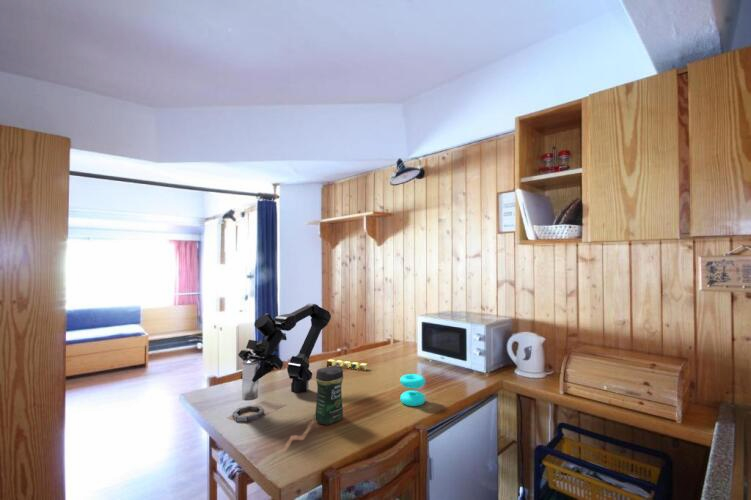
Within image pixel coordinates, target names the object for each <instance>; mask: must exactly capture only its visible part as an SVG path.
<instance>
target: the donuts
mask: <svg viewBox="0 0 751 500" xmlns="http://www.w3.org/2000/svg"><path fill="white" fill-rule="evenodd" d="M399 383H400V384H401V385H402V386H403V387H404V388H408V389H419V388H422V387H423V386H424V385H425V384H426V379H425V378H424V376H422V375H420V374H417V373H407V374H403V375H402V376H401V377H400V379H399ZM399 397H400V402H401V403H403V405H406V406H410V407H417V406H418V407H419V406H421V405H423V404H424V403H425V402H426V396H425V395H424V394H423V393H422V392H420V391H417V390H406V391H404V392H402V394H400V396H399Z"/></svg>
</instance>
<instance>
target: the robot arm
mask: <svg viewBox="0 0 751 500" xmlns="http://www.w3.org/2000/svg"><path fill="white" fill-rule="evenodd" d="M309 317H310V324H311V326H310V328H309V330H308V332H307V335H306V336H305V339H304V341H303V343H302V346H301V347H300V349H299V351H298V353H297V355H296V356H295V355H291V357H290V360H289V362H288V363H287V365H288V366H287V367H286V368H287V369H286V370H287V374H288V377H289V378H288V379H291V380H292V382H291V383H290V385H291V387H290V392H292V393H294V394H295V393H296V394H303V393H307V392H309V390H310V389H309V381H310V380H312V378H313V373H312V372H311V370H310V360H309V359H310V357H311V354H312V353H313V349H314V347H315V345H316V343H317V341H318V338H319V336H320V334H321V331H322V330H323V329H324V328H326V326H328V324H329V323H330V321H331V318H332V315H331V312H330V311H329V310H327V309H326V308H325V309H324V308H322V307H321V306H319V305H318V304H316V303H307V304H306V305H305V306H303V307H300V308H298V309H296V310H294V311H292V312H290V313H285V314H280V315H277V316H275V318H273V317H272V316H271V314H270V313H264V315H262V316H259V317H258V318H257V319H256V320H255V322H254V327H255V329H257V331H259V333H260V334H261V335H262V336H263V337H265V338H264V339H260V340H259V341H257V340H254V339H248V341H247V344H246V345H245V348H246V349H242V350H240V351H239V352H238V354H237V356H238V357H239V358H240V360H242V362H243V361H245V360H249V359H257V360H259V369H258V371H257V372H256V374H255V376H254V378H253V380H252V381H253V382H256V381H257V380H258V379H259V380H260V379H261V378H263V377H264V376H266V375H268V374H269V373H270V372H272V371H275V370H279V371H280V370H281V369H282V368H283V367H284V362H283V360H282V359H281V358H280V357H279V356H278V355H277V354H275V353H277V352H278V349H277V348H278V346H279V344H280V343H281V342H282V341H287V335H286V334H287V333H285V332H290V331H291V330H292V329H294V328H295V327H296V326H297V323H299V322H300V321H303V320H304V319H306V318H309ZM283 331H285V332H283ZM248 349H249V350H248ZM251 350H252V352H251ZM242 372H243V370H242V371H241V373H242ZM240 379H241V380H242V374H241V376H240Z"/></svg>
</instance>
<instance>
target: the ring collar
mask: <svg viewBox="0 0 751 500" xmlns="http://www.w3.org/2000/svg"><path fill="white" fill-rule="evenodd" d="M247 411H258V413H257V414H253V415H250V416H239V414H240V413H243V412H247ZM263 414H264V409H263V408H262V407H261V406H253V405H251V404H250V405H246V406H243V407H238V408H236V410H234V411H233V412H232V414H231V415H232V418H233V419H234V420H235V421H234V420H233V421H234V422H238V423H241V422H249V421H253V420H256V419H258V420H260V419H261V418H260V417H261V416H262V415H263ZM259 418H260V419H259ZM256 421H257V420H256Z"/></svg>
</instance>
